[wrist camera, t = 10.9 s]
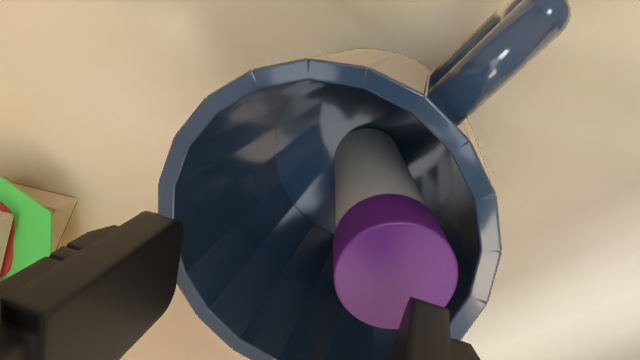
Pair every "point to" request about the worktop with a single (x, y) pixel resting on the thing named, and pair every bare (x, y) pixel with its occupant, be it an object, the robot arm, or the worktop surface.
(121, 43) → the worktop surface
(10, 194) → the sandwich
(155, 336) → the worktop surface
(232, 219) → the mug
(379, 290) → the glue stick
